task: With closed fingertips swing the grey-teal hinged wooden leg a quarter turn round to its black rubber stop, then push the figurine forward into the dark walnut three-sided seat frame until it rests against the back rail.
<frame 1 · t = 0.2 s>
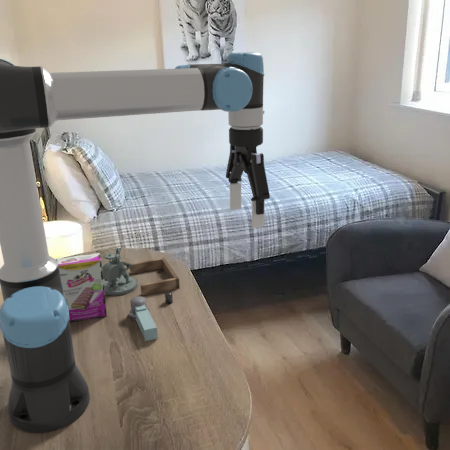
hand: (246, 217, 118), 28 cm above the table, fingers open, 13 cm apart
figurine: (118, 287, 146), on the table
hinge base: (139, 314, 131), on the table
seat frame: (150, 280, 149), on the table
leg: (143, 317, 125), point 2 cm above the table, hinge at 0.0°
candy bar box: (85, 316, 131), on the table
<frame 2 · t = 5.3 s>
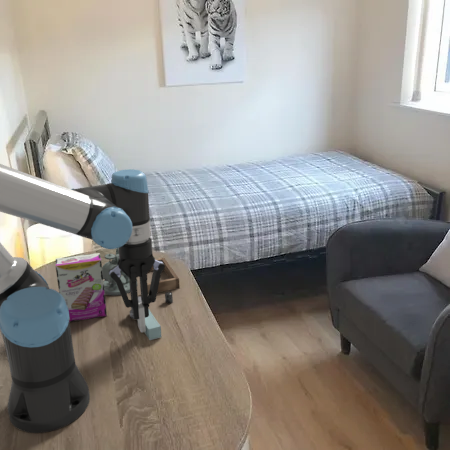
hand: (142, 329, 121), 2 cm above the table, fingers closed
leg: (145, 316, 125), point 2 cm above the table, hinge at 4.3°, touching gripper
everything else where it was.
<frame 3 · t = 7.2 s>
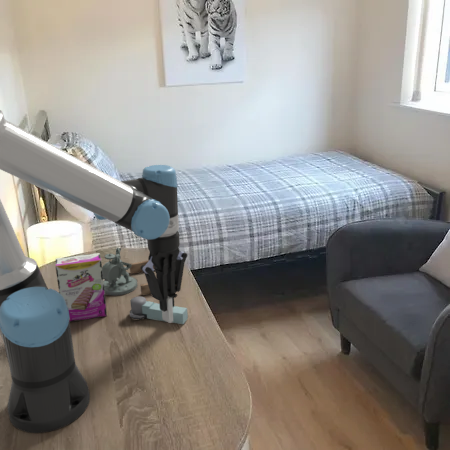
hand: (167, 320, 125), 2 cm above the table, fingers closed
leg: (158, 310, 128), point 2 cm above the table, hinge at 49.7°, touching gripper
everything else where it was.
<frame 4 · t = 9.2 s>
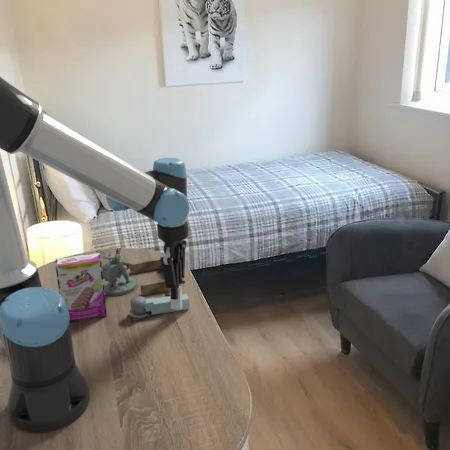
hand: (176, 307, 130), 2 cm above the table, fingers closed
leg: (159, 303, 131), point 2 cm above the table, hinge at 83.7°, touching gripper
everything else where it was.
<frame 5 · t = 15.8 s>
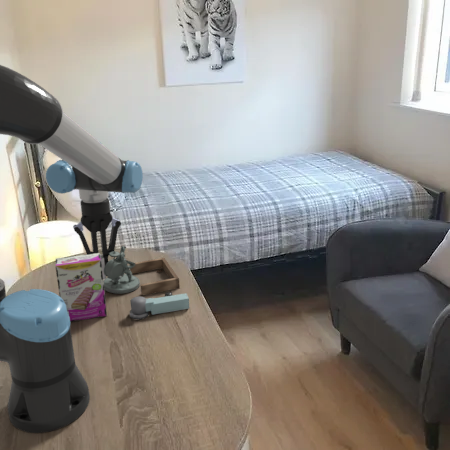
hand: (103, 277, 143), 4 cm above the table, fingers closed
figurine: (121, 285, 146), on the table, touching gripper, hand
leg: (159, 303, 131), point 2 cm above the table, hinge at 84.6°
everything else where it was.
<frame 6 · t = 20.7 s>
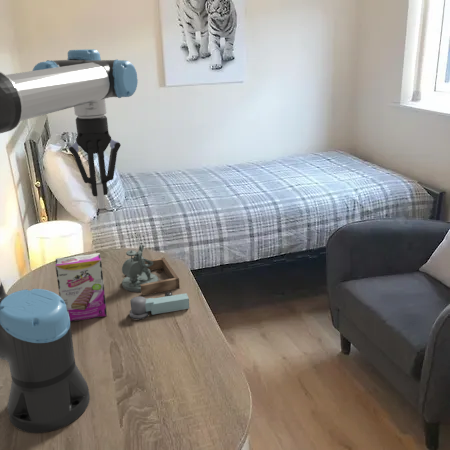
hand: (101, 207, 131), 26 cm above the table, fingers closed
figurine: (140, 284, 148), on the table
everything else where it was.
at the end: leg at +85° (first picture: +0°); figurine 3.3 cm from the seat frame (horizontally); figurine tilted 0° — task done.
